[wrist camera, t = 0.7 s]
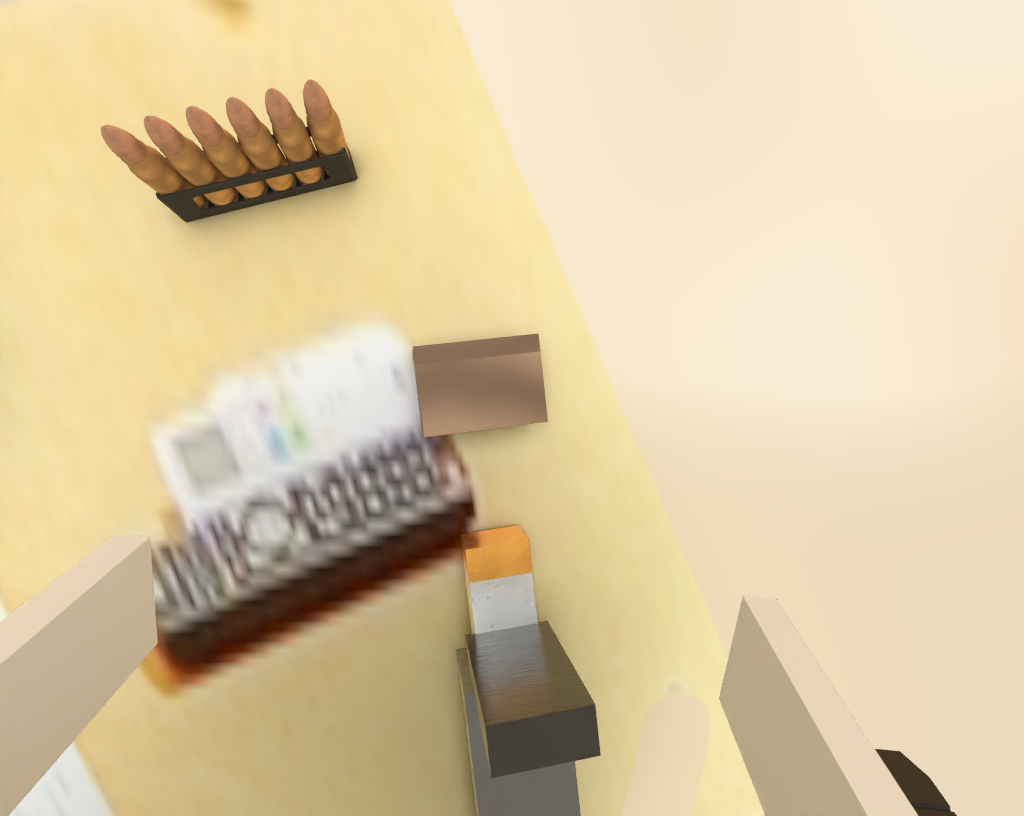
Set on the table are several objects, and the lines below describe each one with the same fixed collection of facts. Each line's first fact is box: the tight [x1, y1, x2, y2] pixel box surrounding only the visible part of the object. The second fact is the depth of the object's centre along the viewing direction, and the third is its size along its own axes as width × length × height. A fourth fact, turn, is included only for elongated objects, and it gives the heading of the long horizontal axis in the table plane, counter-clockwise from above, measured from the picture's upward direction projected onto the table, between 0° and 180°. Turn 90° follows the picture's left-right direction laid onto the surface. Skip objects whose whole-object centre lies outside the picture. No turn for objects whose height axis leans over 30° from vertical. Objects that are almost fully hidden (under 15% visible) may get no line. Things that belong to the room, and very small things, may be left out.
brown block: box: [413, 334, 548, 437], centre depth 39 cm, size 5×7×6 cm
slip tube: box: [460, 525, 600, 778], centre depth 36 cm, size 22×5×14 cm, turn 7°
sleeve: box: [456, 648, 581, 816], centre depth 41 cm, size 14×6×6 cm, turn 7°
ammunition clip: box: [101, 80, 358, 222], centre depth 34 cm, size 11×2×12 cm, turn 107°
